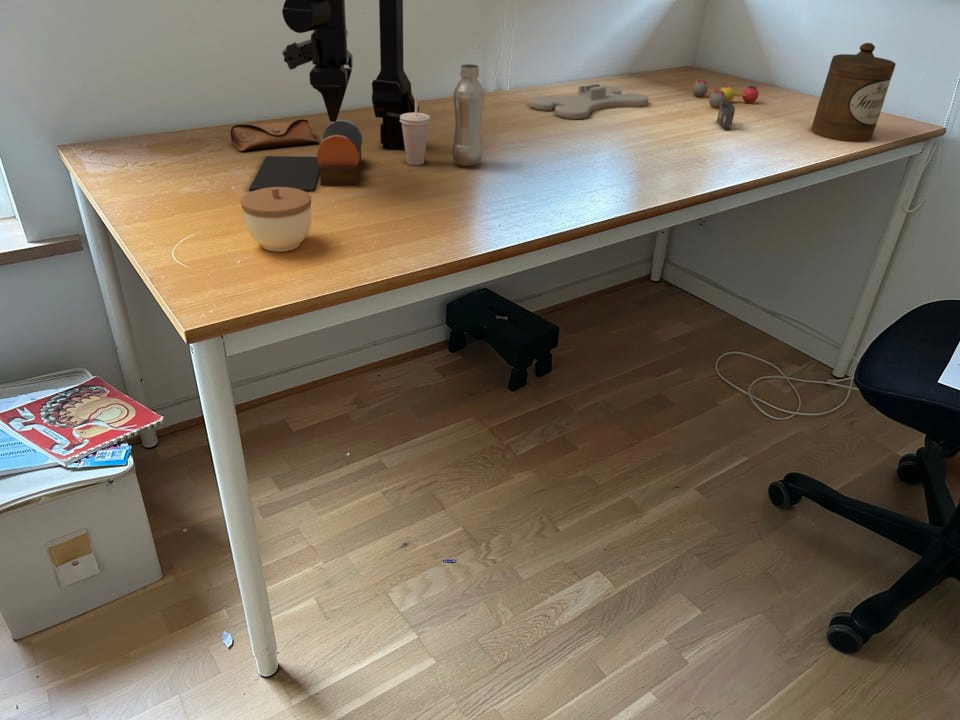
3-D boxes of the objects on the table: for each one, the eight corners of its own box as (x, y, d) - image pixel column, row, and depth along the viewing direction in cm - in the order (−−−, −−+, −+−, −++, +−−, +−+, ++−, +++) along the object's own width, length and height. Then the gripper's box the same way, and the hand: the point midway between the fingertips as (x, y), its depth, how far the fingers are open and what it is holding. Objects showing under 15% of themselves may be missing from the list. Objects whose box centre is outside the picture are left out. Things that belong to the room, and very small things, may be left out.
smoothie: (407, 168, 153) (406, 99, 146) (395, 159, 158) (394, 92, 150) (435, 165, 156) (435, 97, 148) (423, 156, 161) (423, 90, 153)
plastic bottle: (486, 162, 159) (490, 64, 148) (475, 171, 154) (479, 71, 143) (458, 158, 161) (460, 61, 150) (447, 167, 155) (448, 67, 144)
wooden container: (855, 145, 182) (885, 50, 170) (800, 131, 191) (825, 40, 180) (882, 135, 191) (912, 45, 179) (827, 122, 200) (853, 35, 188)
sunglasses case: (240, 150, 157) (232, 119, 156) (235, 159, 163) (228, 129, 162) (321, 141, 165) (314, 112, 164) (313, 150, 171) (307, 121, 170)
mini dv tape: (730, 130, 189) (735, 106, 186) (724, 130, 189) (729, 106, 186) (722, 122, 196) (727, 98, 193) (716, 121, 196) (721, 98, 193)
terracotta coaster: (319, 174, 145) (316, 134, 140) (360, 175, 146) (358, 135, 141) (318, 177, 144) (315, 136, 139) (359, 177, 145) (357, 136, 140)
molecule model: (689, 94, 222) (692, 78, 219) (743, 95, 224) (746, 79, 221) (711, 109, 207) (714, 92, 204) (769, 110, 209) (773, 93, 206)
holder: (654, 104, 209) (657, 86, 206) (571, 121, 190) (574, 101, 187) (604, 90, 221) (606, 73, 218) (521, 105, 202) (523, 86, 199)
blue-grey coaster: (324, 157, 154) (321, 119, 150) (363, 158, 155) (361, 119, 150) (324, 159, 153) (321, 120, 149) (362, 160, 154) (361, 121, 149)
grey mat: (323, 158, 156) (323, 156, 156) (313, 191, 140) (313, 189, 140) (266, 157, 155) (266, 156, 155) (249, 190, 139) (248, 188, 138)
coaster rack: (328, 159, 156) (327, 143, 154) (361, 160, 157) (360, 143, 155) (320, 185, 143) (319, 167, 141) (357, 185, 143) (356, 168, 142)
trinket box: (233, 250, 116) (224, 193, 111) (272, 226, 125) (265, 172, 120) (291, 263, 113) (284, 205, 108) (327, 237, 122) (323, 183, 117)
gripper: (290, 16, 137) (298, 102, 145) (275, 32, 121) (284, 127, 130) (350, 18, 138) (355, 103, 146) (343, 34, 122) (348, 129, 131)
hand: (335, 115), depth 138 cm, fingers open, 9 cm apart
